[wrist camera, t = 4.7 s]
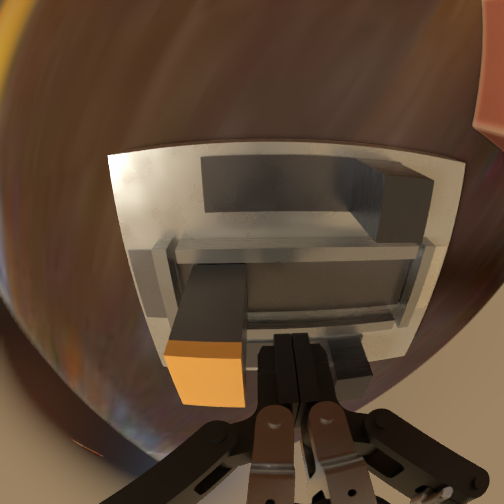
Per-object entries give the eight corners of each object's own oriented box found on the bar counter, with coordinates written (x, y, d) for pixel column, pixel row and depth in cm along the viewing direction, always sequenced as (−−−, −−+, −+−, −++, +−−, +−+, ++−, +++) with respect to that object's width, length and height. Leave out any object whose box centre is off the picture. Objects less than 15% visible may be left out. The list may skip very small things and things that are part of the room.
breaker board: (123, 149, 14) (67, 173, 9) (447, 156, 14) (506, 182, 8) (168, 348, 22) (152, 403, 17) (396, 339, 21) (419, 388, 16)
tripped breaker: (193, 264, 15) (163, 355, 9) (245, 264, 14) (240, 358, 9) (201, 315, 16) (183, 404, 11) (247, 315, 16) (244, 407, 11)
